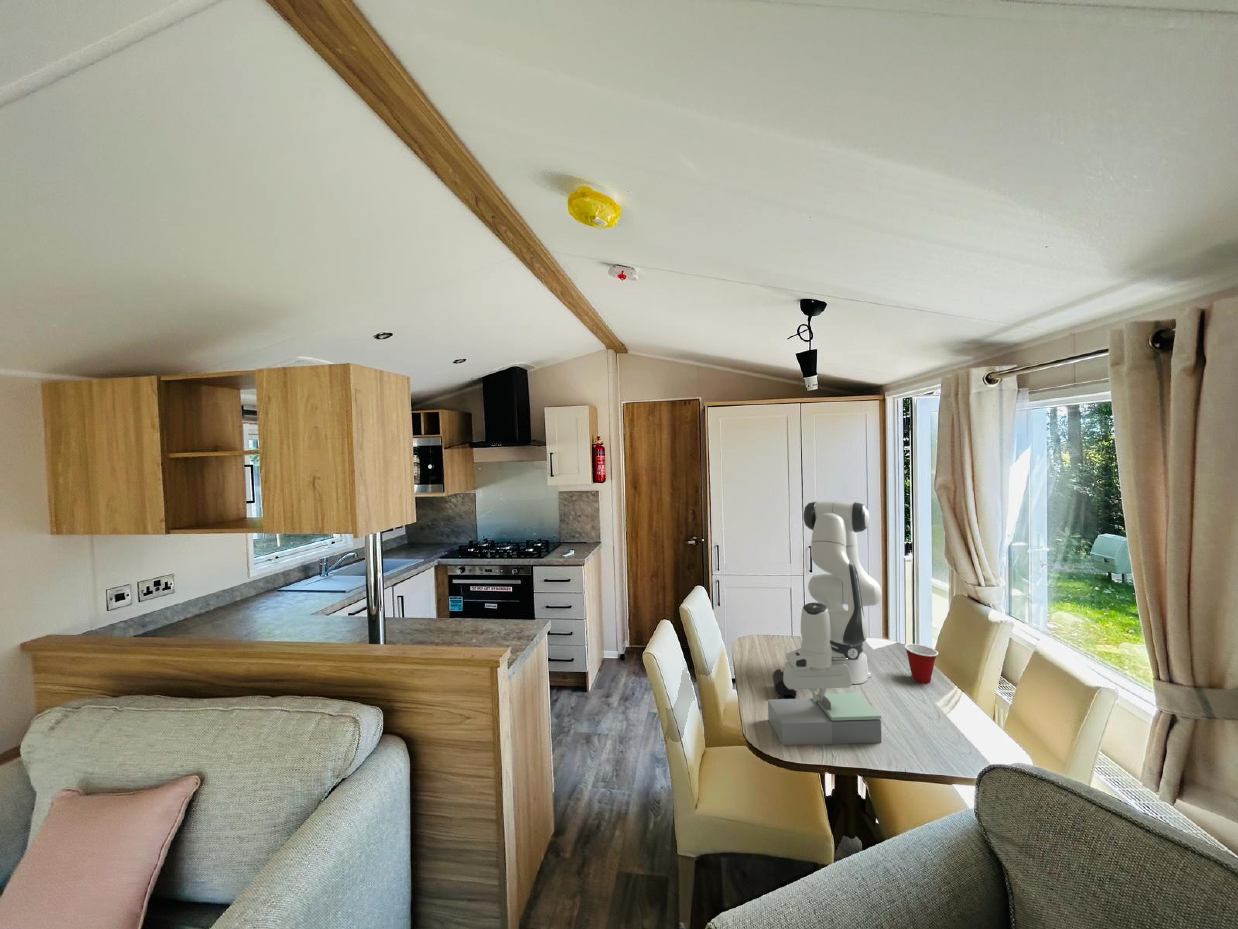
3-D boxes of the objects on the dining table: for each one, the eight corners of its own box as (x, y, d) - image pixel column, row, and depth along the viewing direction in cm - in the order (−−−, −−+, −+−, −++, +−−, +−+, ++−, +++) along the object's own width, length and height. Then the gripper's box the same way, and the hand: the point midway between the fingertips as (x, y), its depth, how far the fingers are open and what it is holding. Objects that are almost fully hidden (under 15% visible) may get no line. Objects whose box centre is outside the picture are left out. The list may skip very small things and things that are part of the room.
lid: (812, 697, 161) (812, 687, 161) (857, 695, 161) (857, 686, 161) (831, 720, 146) (831, 710, 146) (881, 719, 146) (880, 708, 146)
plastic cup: (942, 688, 178) (941, 655, 178) (908, 684, 182) (907, 652, 182) (935, 675, 188) (934, 644, 188) (903, 672, 192) (902, 641, 192)
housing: (768, 719, 161) (767, 699, 161) (858, 716, 161) (857, 697, 161) (782, 745, 146) (782, 723, 146) (881, 742, 146) (880, 720, 146)
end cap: (772, 686, 184) (772, 668, 184) (792, 687, 183) (792, 669, 183) (775, 699, 175) (774, 680, 175) (796, 700, 173) (795, 681, 173)
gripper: (845, 652, 157) (846, 695, 157) (780, 654, 157) (782, 697, 157) (854, 660, 150) (856, 705, 150) (787, 662, 151) (788, 707, 151)
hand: (817, 701), depth 154 cm, fingers closed
